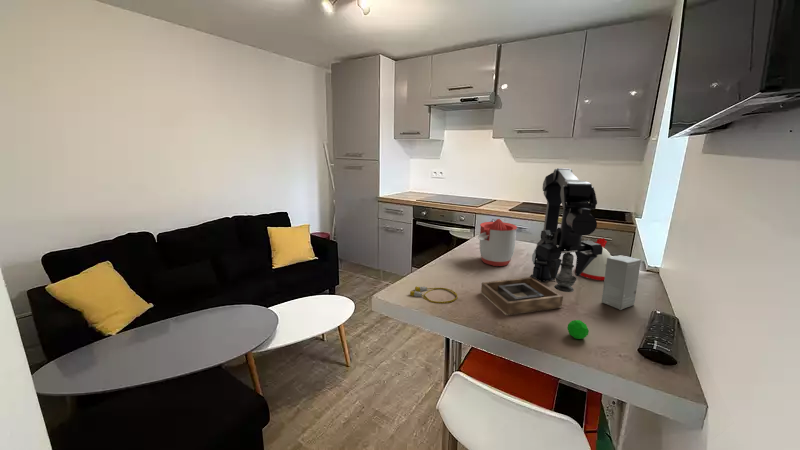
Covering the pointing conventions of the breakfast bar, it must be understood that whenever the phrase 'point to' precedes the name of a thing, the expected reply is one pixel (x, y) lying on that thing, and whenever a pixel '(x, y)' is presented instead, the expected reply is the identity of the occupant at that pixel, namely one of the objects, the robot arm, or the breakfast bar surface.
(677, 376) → the breakfast bar surface
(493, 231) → the citrus juicer
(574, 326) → the polyhedron
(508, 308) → the walled box
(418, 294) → the extension cord
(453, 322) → the breakfast bar surface
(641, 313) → the breakfast bar surface
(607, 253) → the white chicken dome
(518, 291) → the inlet collar
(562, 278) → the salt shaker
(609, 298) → the skincare box
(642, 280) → the breakfast bar surface
